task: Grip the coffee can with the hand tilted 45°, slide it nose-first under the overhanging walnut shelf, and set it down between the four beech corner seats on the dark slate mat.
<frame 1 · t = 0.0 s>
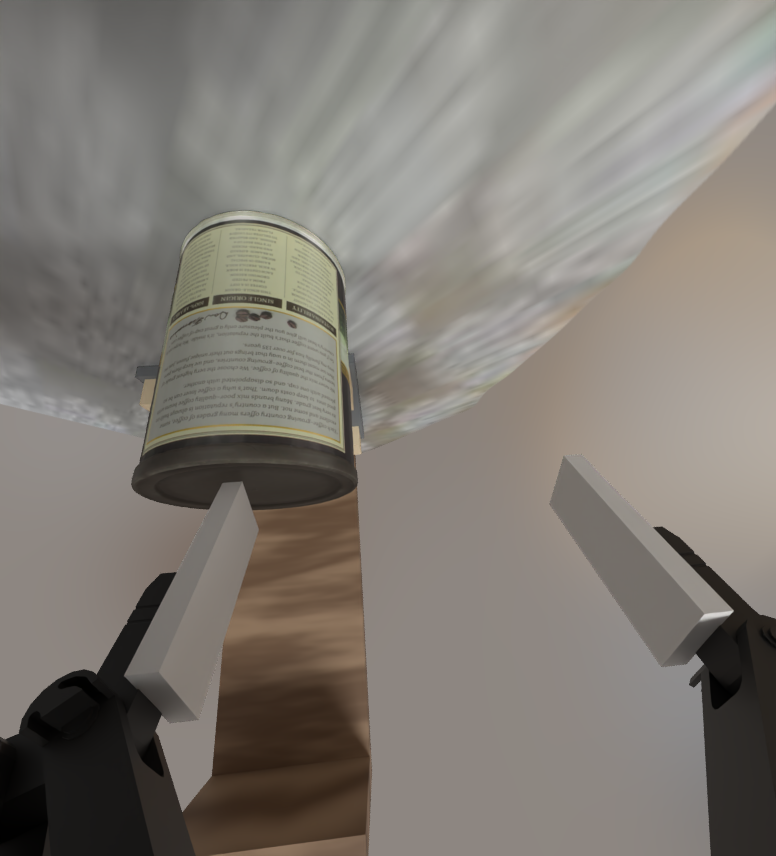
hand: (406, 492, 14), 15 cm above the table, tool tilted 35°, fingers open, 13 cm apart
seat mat: (277, 407, 39), on the table
coffee can: (269, 280, 23), on the table
walnut shelf: (289, 425, 44), on the table
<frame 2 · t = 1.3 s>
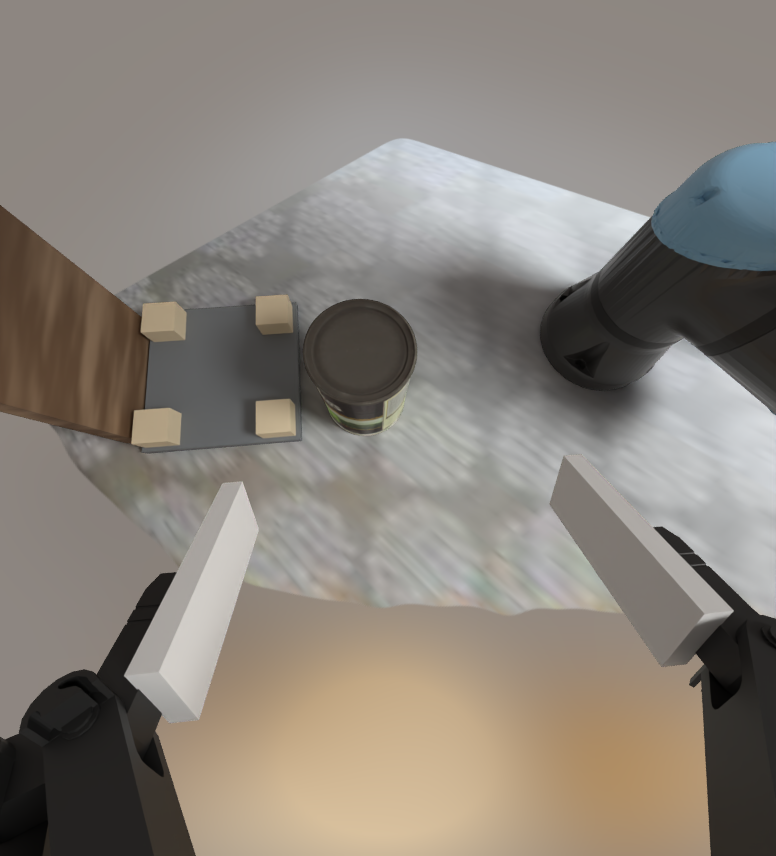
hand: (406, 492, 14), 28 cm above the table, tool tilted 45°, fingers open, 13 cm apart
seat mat: (226, 375, 44), on the table
coffee can: (366, 398, 44), on the table
walnut shelf: (183, 378, 44), on the table
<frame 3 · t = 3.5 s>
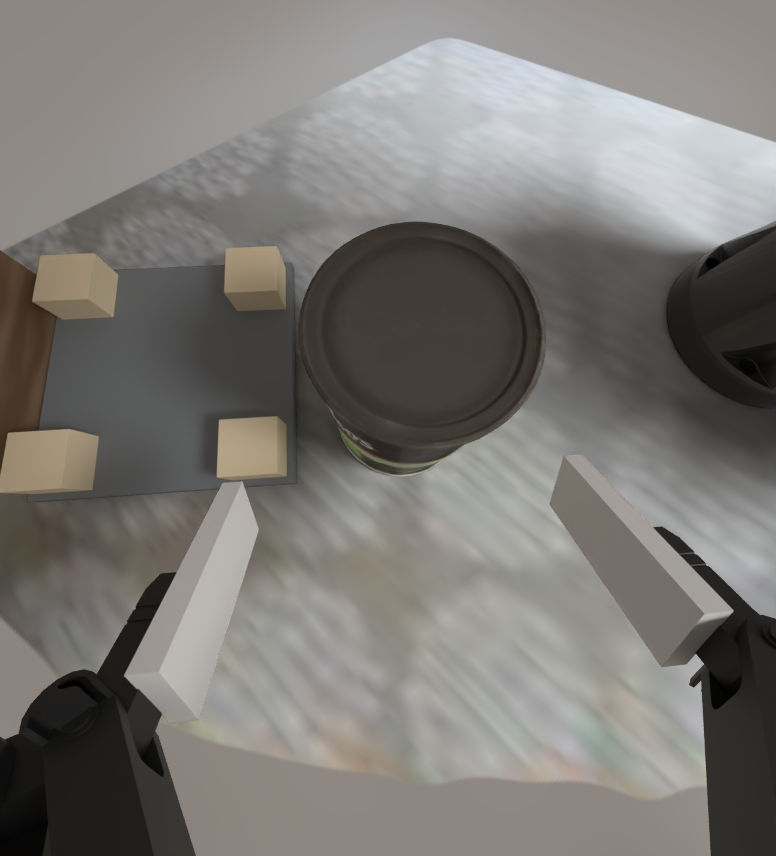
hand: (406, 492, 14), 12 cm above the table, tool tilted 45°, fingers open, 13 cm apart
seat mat: (178, 375, 28), on the table
coffee can: (400, 415, 28), on the table
walnut shelf: (109, 379, 27), on the table
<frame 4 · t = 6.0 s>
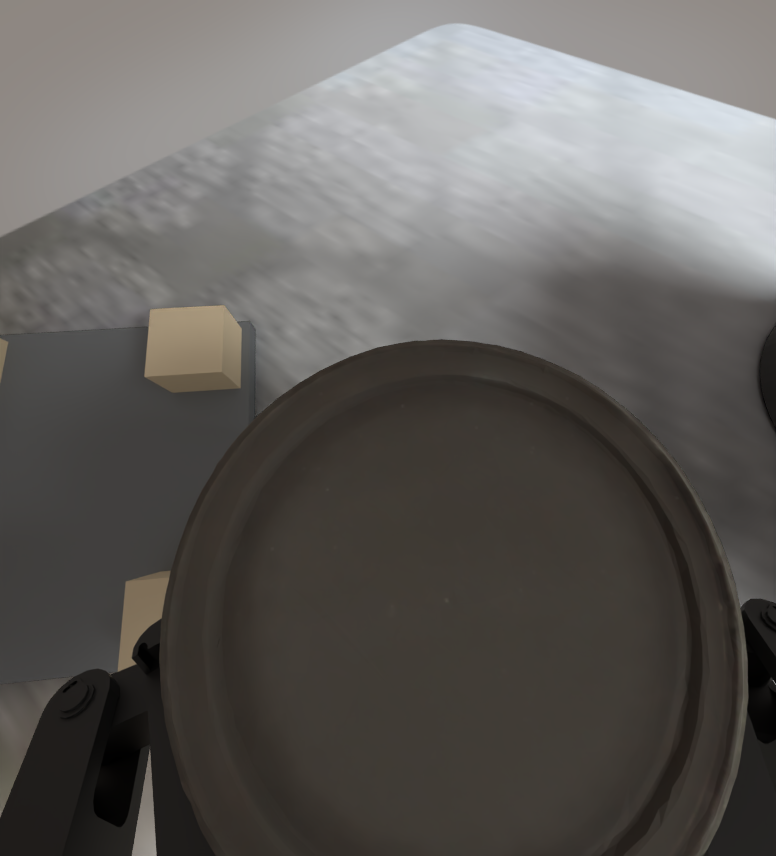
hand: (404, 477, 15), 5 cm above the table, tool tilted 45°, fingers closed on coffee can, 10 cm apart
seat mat: (89, 485, 20), on the table
coffee can: (402, 537, 20), on the table, touching gripper
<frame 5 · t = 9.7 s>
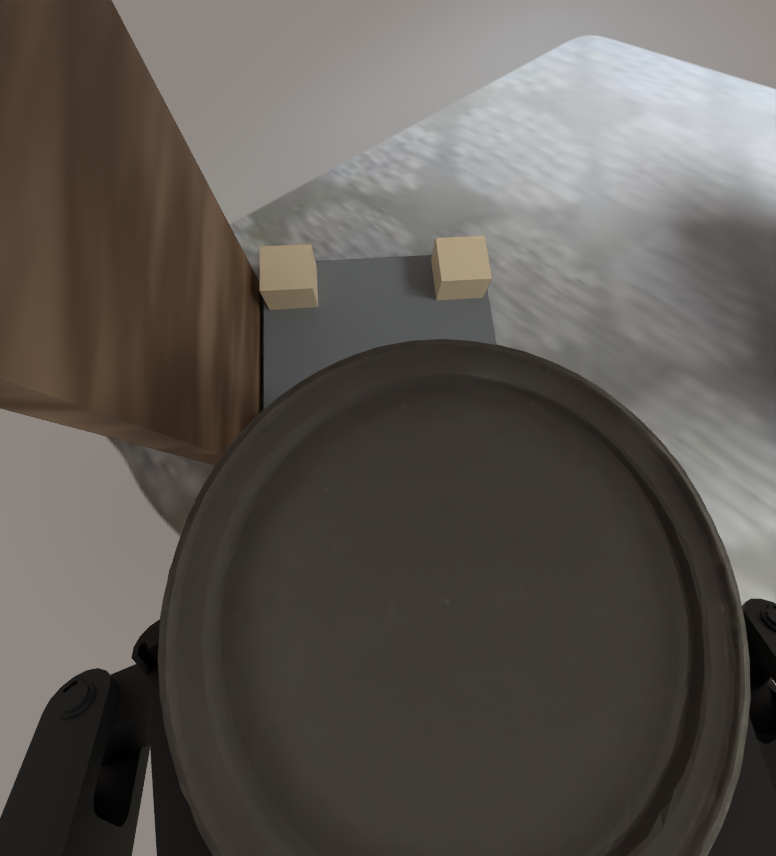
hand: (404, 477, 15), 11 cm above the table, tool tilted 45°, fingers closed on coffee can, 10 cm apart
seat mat: (382, 363, 28), on the table
coffee can: (402, 538, 20), point 6 cm above the table, touching gripper
walnut shelf: (316, 367, 28), on the table
when the fingers open (8 cm above the table, at t = 13.6 s): coffee can drops 1 cm, resting on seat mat.
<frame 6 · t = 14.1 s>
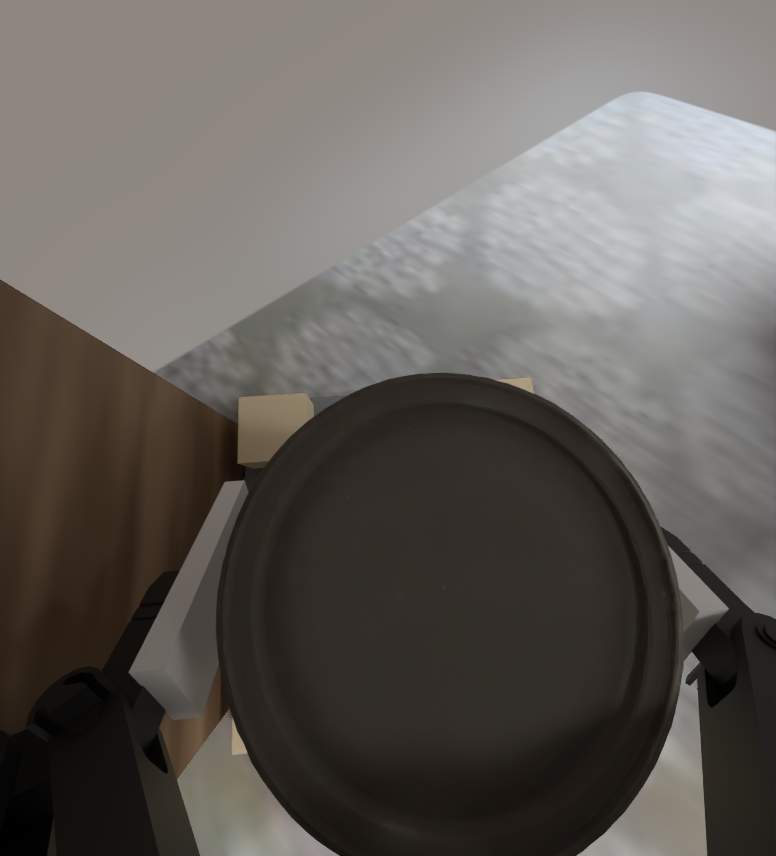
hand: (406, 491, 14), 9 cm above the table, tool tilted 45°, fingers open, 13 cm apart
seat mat: (397, 535, 22), on the table
coffee can: (403, 537, 21), point 1 cm above the table, touching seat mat
walnut shelf: (313, 543, 22), on the table
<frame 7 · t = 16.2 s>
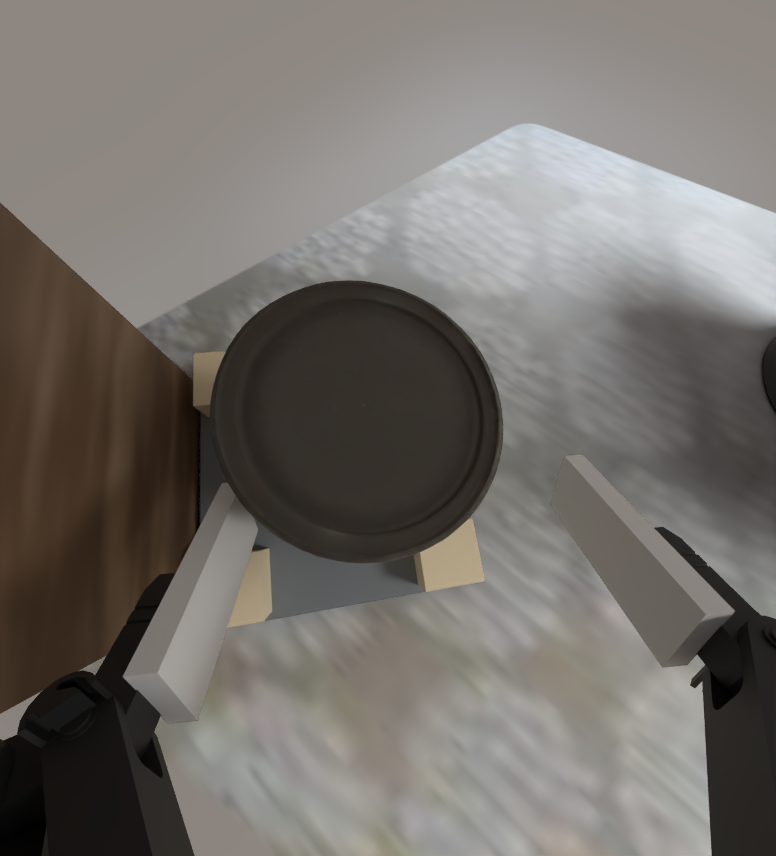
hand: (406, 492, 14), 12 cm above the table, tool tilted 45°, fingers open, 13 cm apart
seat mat: (335, 470, 26), on the table
coffee can: (338, 468, 25), point 1 cm above the table, touching gripper, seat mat
walnut shelf: (262, 479, 26), on the table
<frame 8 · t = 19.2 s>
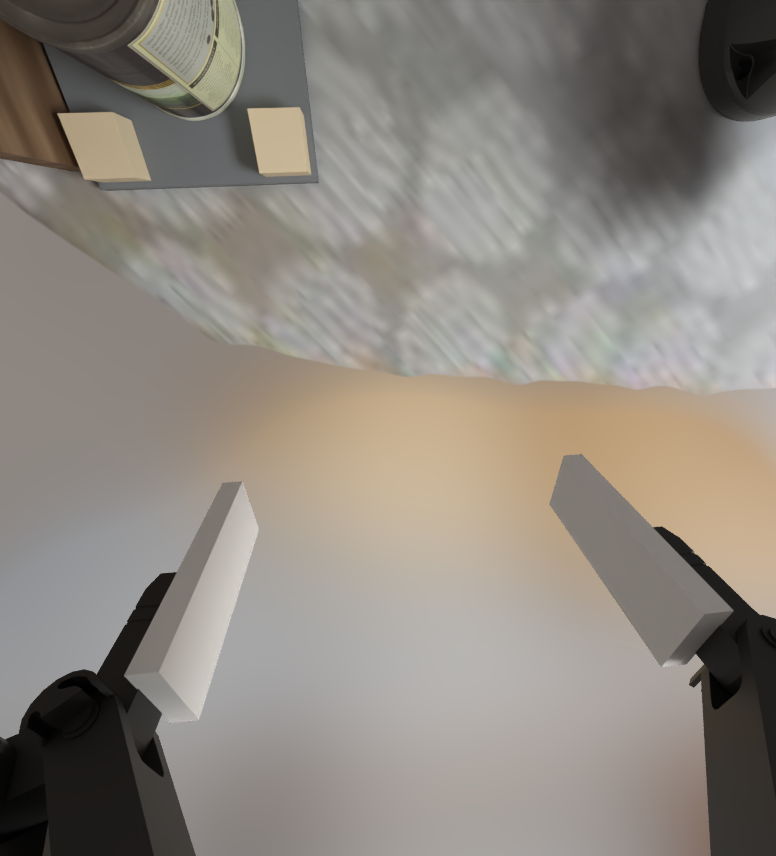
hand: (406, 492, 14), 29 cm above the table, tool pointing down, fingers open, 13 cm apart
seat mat: (177, 36, 26), on the table
coffee can: (177, 33, 25), point 1 cm above the table, touching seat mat
walnut shelf: (103, 37, 26), on the table
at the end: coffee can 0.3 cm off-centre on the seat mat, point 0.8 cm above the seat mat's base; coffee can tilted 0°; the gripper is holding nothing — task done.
